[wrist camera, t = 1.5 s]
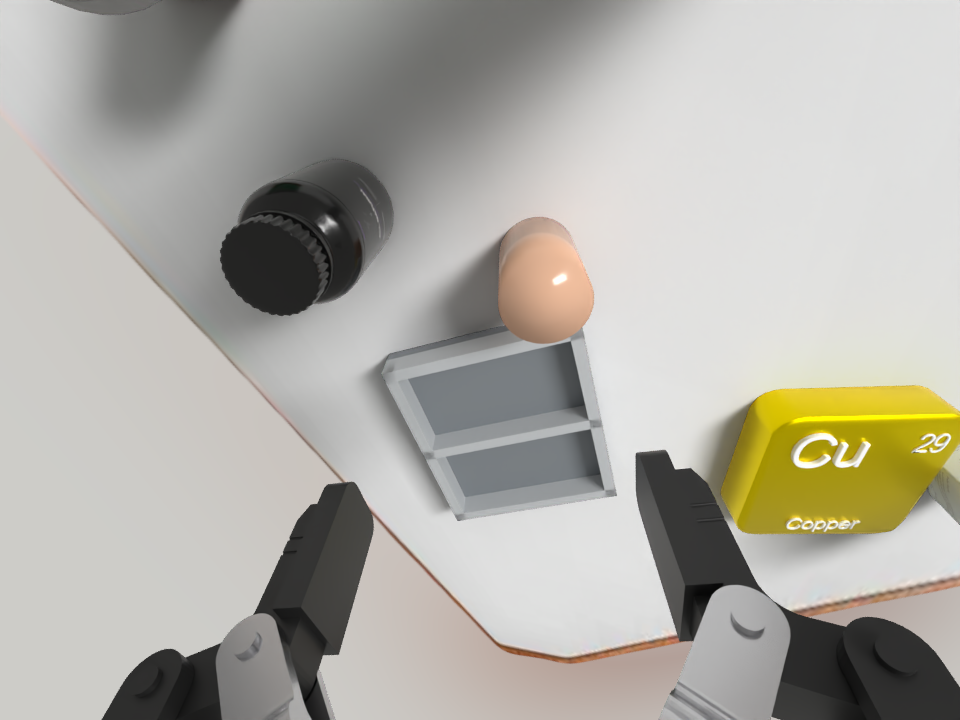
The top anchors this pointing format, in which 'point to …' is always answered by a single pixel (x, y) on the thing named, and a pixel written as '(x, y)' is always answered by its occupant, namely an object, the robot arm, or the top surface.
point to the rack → (504, 421)
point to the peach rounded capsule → (542, 282)
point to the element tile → (837, 458)
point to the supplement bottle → (307, 237)
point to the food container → (108, 5)
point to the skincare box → (948, 486)
